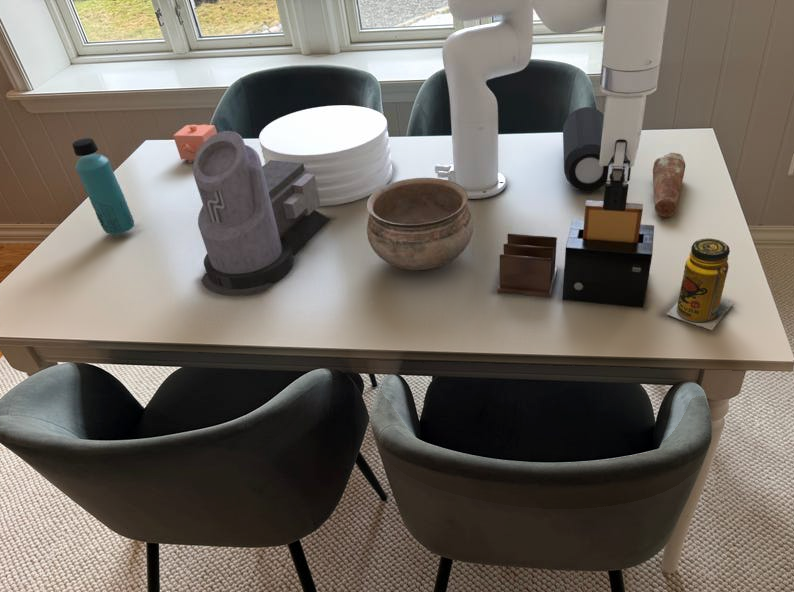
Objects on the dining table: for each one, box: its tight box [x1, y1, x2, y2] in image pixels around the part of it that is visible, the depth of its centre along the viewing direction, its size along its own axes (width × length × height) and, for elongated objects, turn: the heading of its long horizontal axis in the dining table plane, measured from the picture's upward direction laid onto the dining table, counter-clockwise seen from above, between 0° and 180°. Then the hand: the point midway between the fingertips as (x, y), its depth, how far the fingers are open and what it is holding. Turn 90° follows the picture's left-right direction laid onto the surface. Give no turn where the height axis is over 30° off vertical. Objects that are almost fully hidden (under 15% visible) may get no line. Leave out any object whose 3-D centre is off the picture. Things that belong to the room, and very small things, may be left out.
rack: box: [496, 233, 558, 298], centre depth 113 cm, size 9×8×7 cm
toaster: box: [561, 219, 655, 309], centre depth 109 cm, size 13×10×10 cm
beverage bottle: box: [71, 137, 135, 235], centre depth 133 cm, size 6×7×20 cm
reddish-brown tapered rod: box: [652, 152, 686, 218], centre depth 133 cm, size 6×19×6 cm, turn 161°
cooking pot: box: [366, 177, 474, 271], centre depth 119 cm, size 25×19×12 cm
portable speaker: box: [562, 106, 609, 193], centre depth 144 cm, size 26×10×10 cm, turn 172°
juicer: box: [192, 130, 331, 297], centre depth 122 cm, size 30×16×24 cm, turn 158°
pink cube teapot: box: [172, 124, 218, 163], centre depth 165 cm, size 8×12×8 cm, turn 168°
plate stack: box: [258, 104, 394, 207], centre depth 150 cm, size 28×28×12 cm
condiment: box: [666, 237, 734, 331], centre depth 102 cm, size 7×8×12 cm
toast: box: [583, 199, 644, 243], centre depth 106 cm, size 8×2×11 cm, turn 74°
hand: (616, 194), depth 101 cm, fingers open, 9 cm apart
